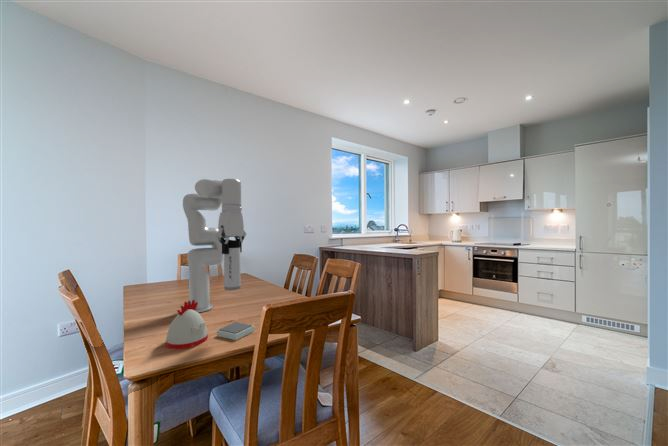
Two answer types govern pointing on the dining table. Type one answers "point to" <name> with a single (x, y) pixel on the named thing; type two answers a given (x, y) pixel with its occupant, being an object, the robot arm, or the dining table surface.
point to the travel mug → (232, 266)
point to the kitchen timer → (186, 328)
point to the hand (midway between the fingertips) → (231, 252)
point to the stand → (235, 331)
